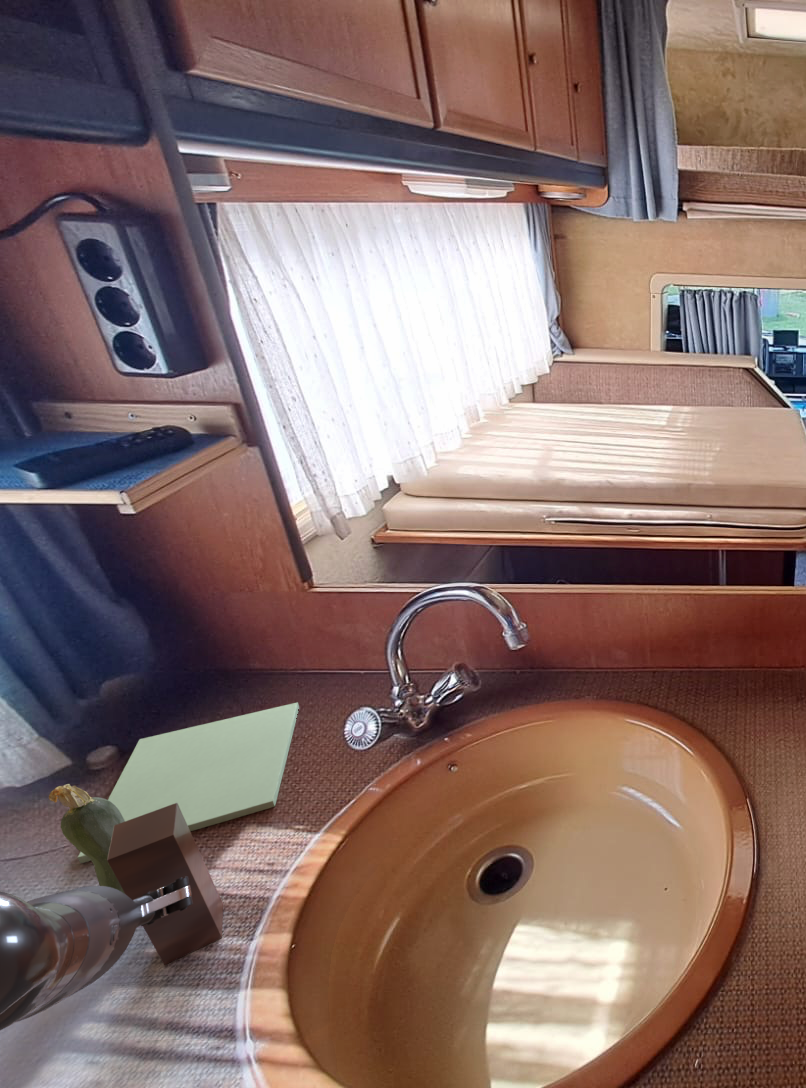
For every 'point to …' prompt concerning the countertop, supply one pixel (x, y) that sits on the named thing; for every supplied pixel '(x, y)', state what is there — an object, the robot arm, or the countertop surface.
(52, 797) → the vegetable
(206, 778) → the cutting board
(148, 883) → the walnut block
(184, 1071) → the countertop surface
